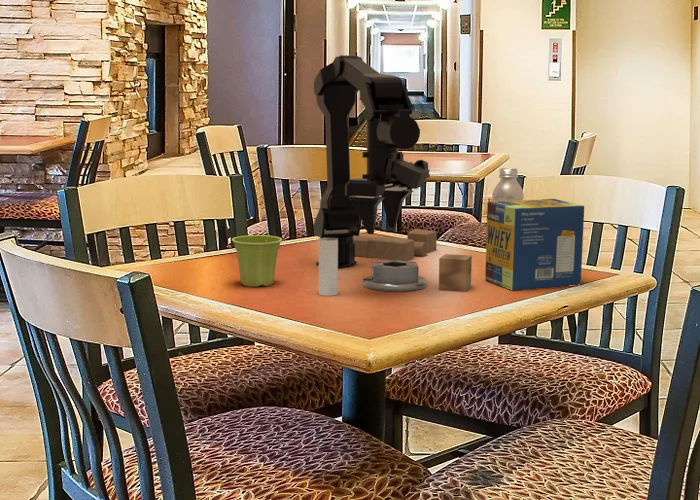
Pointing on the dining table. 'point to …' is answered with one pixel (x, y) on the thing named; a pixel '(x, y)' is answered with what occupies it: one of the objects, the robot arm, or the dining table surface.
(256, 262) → the plant pot
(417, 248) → the wooden block set
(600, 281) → the dining table surface
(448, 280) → the brown wooden block
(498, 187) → the plastic bottle
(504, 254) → the protein box
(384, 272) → the socket
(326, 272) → the tan elongated piece
